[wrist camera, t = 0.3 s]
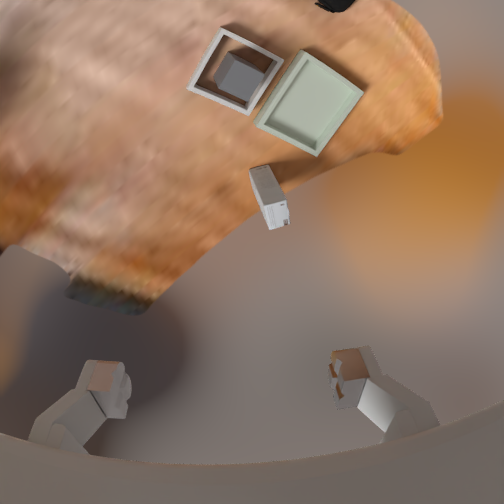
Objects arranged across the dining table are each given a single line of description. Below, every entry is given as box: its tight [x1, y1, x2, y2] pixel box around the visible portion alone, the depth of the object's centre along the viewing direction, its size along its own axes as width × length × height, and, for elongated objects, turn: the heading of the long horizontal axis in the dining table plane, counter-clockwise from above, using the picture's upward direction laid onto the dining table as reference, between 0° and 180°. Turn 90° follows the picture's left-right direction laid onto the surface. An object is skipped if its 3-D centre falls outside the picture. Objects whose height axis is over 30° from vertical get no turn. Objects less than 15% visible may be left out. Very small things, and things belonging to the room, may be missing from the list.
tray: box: [253, 49, 364, 157], centre depth 54 cm, size 16×14×2 cm
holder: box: [187, 27, 284, 116], centre depth 47 cm, size 12×12×2 cm
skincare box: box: [249, 165, 290, 230], centre depth 60 cm, size 6×4×12 cm
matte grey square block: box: [213, 52, 265, 102], centre depth 45 cm, size 5×5×8 cm
